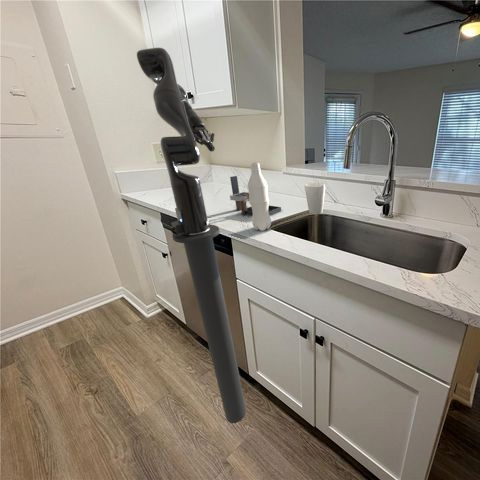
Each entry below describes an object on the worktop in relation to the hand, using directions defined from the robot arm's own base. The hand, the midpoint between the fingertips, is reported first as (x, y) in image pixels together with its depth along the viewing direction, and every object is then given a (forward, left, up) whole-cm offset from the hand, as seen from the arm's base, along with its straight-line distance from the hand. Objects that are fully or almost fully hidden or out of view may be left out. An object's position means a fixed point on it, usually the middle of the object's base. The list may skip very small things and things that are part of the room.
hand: (212, 150), depth 127 cm
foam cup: (+24, -47, -28) cm, 60 cm away
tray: (+7, -27, -28) cm, 40 cm away
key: (+5, -17, -22) cm, 28 cm away
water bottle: (-5, -47, -28) cm, 55 cm away
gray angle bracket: (+4, -18, -22) cm, 29 cm away
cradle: (+4, -18, -28) cm, 33 cm away
